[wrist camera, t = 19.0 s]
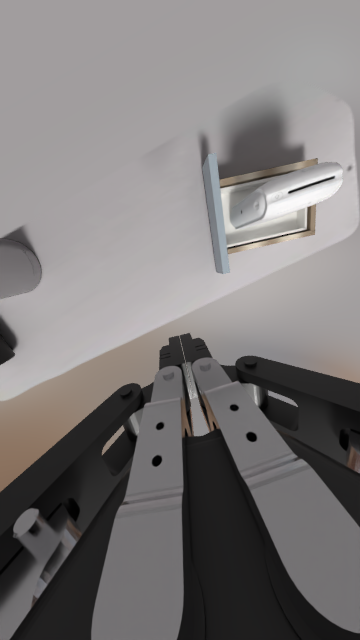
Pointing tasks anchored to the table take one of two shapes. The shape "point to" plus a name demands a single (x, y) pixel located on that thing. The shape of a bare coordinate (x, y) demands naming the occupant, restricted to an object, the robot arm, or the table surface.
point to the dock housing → (268, 174)
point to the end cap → (5, 351)
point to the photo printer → (287, 194)
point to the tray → (221, 210)
